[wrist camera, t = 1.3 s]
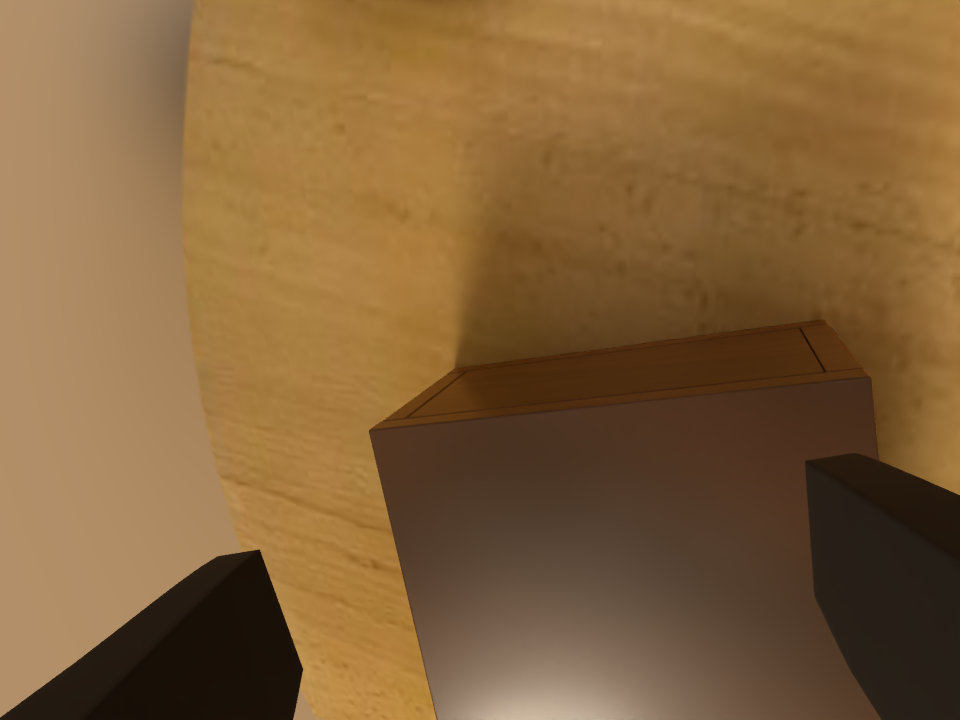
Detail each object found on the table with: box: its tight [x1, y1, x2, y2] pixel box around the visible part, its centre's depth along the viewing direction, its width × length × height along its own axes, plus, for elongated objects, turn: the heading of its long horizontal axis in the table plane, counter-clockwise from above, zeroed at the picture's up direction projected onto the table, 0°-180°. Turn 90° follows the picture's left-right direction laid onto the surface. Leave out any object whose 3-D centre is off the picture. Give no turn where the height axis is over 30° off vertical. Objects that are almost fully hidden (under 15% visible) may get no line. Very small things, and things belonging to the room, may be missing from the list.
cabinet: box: [369, 320, 881, 720], centre depth 22 cm, size 10×13×7 cm
